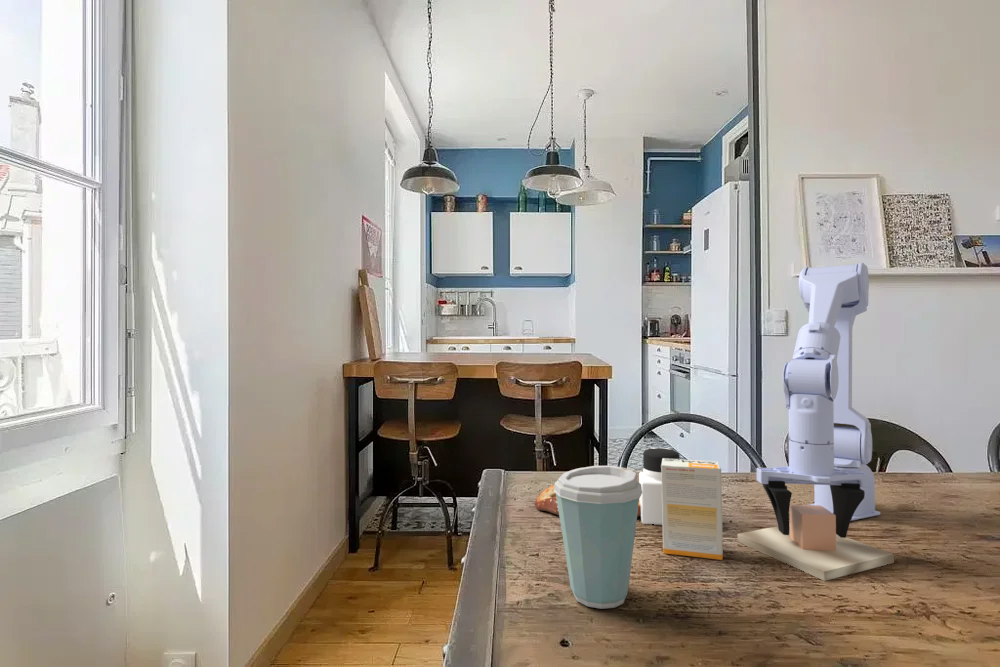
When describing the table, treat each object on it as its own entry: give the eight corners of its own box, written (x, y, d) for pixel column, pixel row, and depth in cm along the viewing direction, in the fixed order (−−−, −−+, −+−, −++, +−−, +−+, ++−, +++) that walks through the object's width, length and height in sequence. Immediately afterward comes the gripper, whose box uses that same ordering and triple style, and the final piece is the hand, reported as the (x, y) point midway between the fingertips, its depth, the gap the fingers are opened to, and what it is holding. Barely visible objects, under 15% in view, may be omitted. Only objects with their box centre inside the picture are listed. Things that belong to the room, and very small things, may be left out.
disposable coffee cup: (584, 627, 57) (584, 489, 57) (538, 584, 66) (537, 466, 67) (662, 607, 61) (661, 478, 61) (608, 569, 71) (607, 458, 71)
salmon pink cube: (789, 537, 79) (789, 504, 79) (821, 538, 78) (821, 505, 78) (802, 549, 74) (802, 514, 74) (836, 550, 74) (835, 515, 74)
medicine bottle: (686, 527, 86) (685, 454, 86) (641, 524, 88) (641, 453, 88) (680, 513, 93) (679, 446, 93) (639, 510, 95) (638, 444, 95)
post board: (801, 528, 85) (801, 503, 85) (893, 562, 72) (893, 532, 72) (737, 541, 80) (737, 514, 80) (824, 580, 67) (824, 548, 67)
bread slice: (665, 508, 94) (664, 487, 94) (597, 532, 83) (596, 509, 83) (591, 487, 108) (591, 469, 109) (525, 506, 98) (524, 486, 98)
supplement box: (720, 548, 78) (719, 460, 78) (723, 561, 73) (722, 468, 73) (662, 541, 80) (662, 456, 80) (661, 554, 76) (660, 463, 76)
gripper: (768, 445, 73) (769, 541, 73) (880, 447, 71) (881, 547, 71) (751, 435, 80) (752, 524, 80) (853, 438, 78) (854, 528, 78)
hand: (811, 533), depth 76 cm, fingers open, 7 cm apart
